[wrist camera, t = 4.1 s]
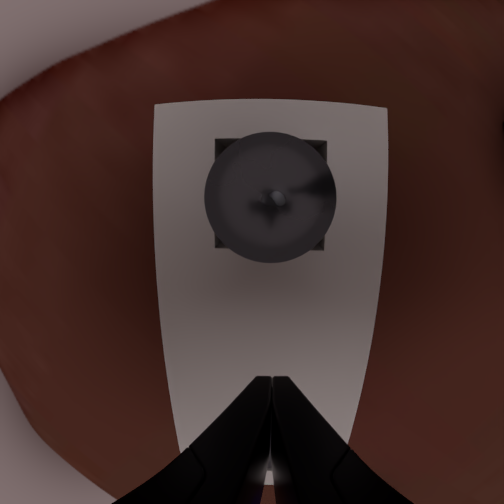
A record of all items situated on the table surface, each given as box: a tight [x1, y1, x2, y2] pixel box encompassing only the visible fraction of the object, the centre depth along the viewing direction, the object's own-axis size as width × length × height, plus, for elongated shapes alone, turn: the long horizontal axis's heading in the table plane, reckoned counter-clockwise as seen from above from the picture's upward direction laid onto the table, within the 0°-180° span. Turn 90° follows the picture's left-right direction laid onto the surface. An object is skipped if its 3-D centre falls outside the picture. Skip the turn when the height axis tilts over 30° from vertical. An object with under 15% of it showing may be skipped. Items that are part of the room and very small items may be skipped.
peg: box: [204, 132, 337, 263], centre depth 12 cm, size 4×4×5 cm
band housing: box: [153, 99, 388, 485], centre depth 17 cm, size 10×22×5 cm, turn 179°
